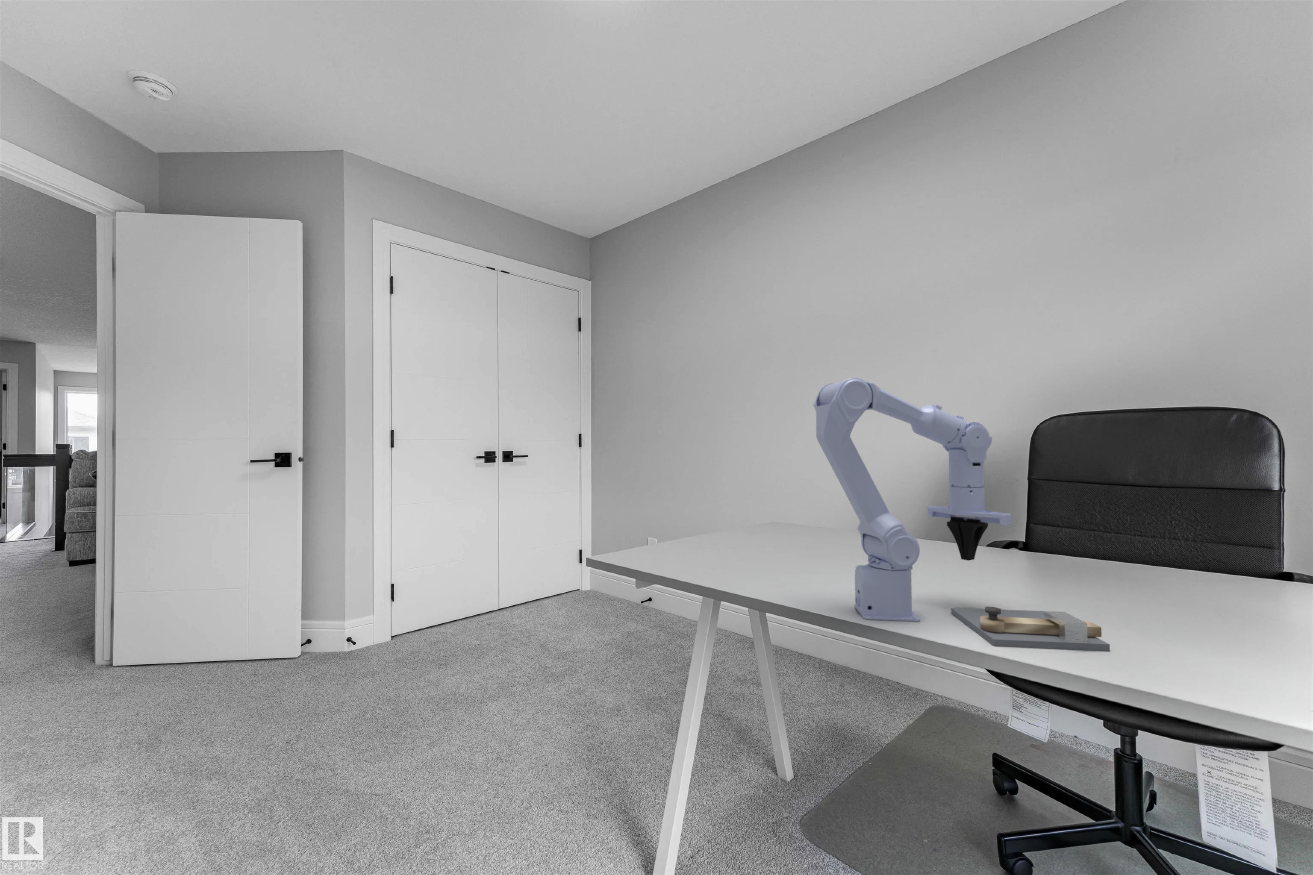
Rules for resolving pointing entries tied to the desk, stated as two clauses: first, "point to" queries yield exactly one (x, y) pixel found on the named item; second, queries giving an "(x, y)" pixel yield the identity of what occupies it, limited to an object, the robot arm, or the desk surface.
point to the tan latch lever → (1026, 624)
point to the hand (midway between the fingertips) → (967, 559)
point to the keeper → (1069, 627)
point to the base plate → (1022, 639)
